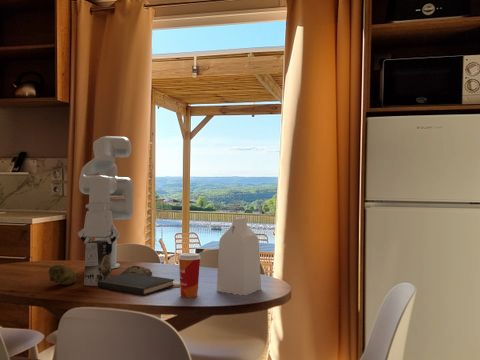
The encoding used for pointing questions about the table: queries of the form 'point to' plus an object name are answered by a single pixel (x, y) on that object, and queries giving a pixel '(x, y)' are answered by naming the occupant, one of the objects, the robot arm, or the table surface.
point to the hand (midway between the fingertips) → (98, 253)
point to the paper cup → (189, 274)
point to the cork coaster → (176, 285)
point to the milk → (239, 260)
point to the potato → (61, 274)
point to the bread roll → (137, 270)
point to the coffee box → (97, 262)
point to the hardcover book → (136, 283)
